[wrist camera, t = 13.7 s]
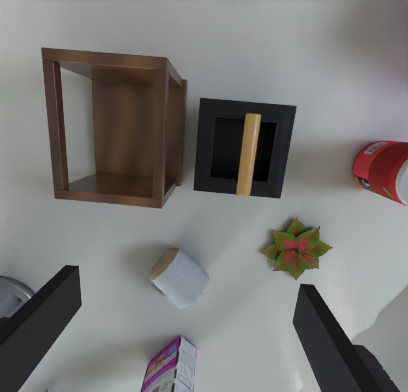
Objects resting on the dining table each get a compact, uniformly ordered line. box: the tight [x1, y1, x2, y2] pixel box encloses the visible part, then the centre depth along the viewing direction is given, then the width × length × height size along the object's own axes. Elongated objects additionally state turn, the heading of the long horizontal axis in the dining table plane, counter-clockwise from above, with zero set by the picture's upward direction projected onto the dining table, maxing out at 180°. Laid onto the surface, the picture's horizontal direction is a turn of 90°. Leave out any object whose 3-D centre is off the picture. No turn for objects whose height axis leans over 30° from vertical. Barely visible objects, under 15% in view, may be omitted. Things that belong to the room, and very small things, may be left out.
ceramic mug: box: [150, 248, 209, 309], centre depth 43 cm, size 11×8×8 cm
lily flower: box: [261, 217, 333, 280], centre depth 42 cm, size 12×12×5 cm
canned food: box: [352, 141, 408, 206], centre depth 34 cm, size 8×8×11 cm
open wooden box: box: [41, 48, 187, 208], centre depth 33 cm, size 14×16×13 cm
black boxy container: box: [194, 98, 297, 198], centre depth 33 cm, size 12×12×14 cm
